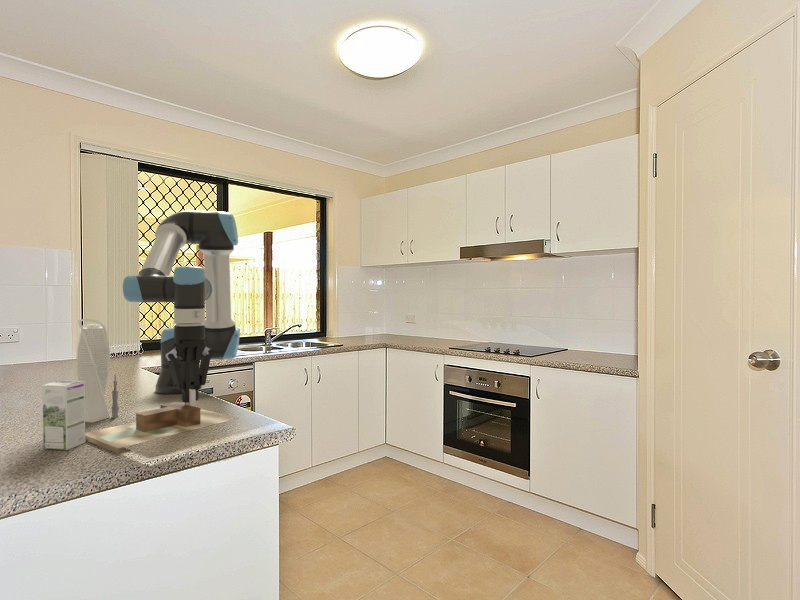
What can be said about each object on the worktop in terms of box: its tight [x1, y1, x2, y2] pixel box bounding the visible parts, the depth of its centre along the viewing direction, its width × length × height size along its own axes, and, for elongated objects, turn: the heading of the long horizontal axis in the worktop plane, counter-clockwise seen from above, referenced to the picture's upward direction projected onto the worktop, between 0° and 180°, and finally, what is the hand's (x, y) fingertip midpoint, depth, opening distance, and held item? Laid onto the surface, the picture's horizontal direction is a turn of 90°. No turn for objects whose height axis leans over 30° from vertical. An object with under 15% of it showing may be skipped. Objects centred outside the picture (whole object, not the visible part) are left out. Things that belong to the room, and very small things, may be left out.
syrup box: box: [42, 380, 87, 451], centre depth 102 cm, size 6×6×14 cm
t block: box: [135, 401, 201, 432], centre depth 115 cm, size 12×12×4 cm
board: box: [85, 408, 239, 455], centre depth 115 cm, size 30×19×1 cm, turn 145°
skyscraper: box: [75, 318, 120, 424], centre depth 121 cm, size 8×8×28 cm
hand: (190, 413), depth 120 cm, fingers closed
